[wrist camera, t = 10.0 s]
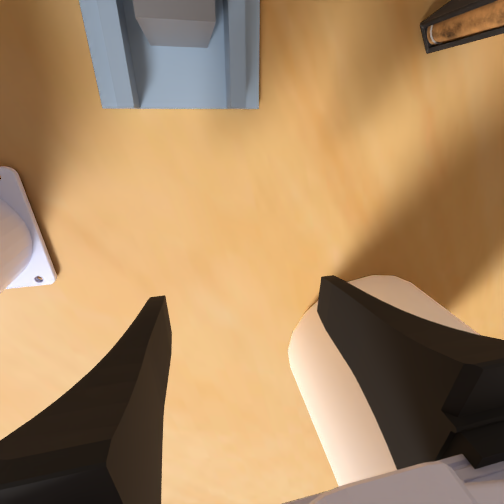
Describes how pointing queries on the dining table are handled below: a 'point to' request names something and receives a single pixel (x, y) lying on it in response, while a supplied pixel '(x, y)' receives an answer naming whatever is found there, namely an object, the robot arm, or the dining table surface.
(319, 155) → the dining table surface
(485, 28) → the ammunition clip
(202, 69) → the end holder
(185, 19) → the charcoal plug
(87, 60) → the dining table surface
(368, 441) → the canister
